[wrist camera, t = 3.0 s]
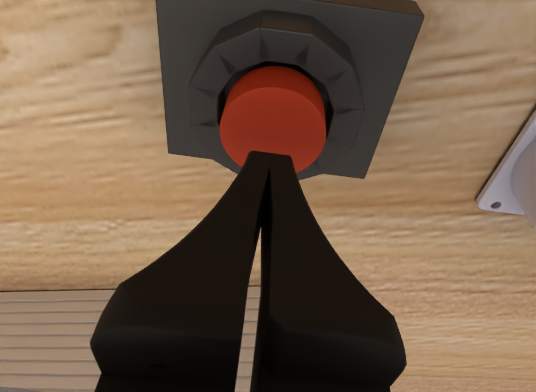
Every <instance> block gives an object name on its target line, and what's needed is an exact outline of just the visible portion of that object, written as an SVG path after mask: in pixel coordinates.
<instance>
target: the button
mask: <svg viewBox="0 0 536 392" xmlns="http://www.w3.org/2000/svg"><path fill="white" fill-rule="evenodd" d="M220 137H221V141H222V144H223V147H224V149H225V150H226V152H227V154H228V155H229V156H230V157H231V159H232V160H233V161H234V162H236V163H237V164H238V165H239V166H241V167H242V166H243V165H244V163H245V161H246V158H247V156H248V153H249V152H251V151H252V150H253V151H261V152H268V153H276V154H284V155H290V156H291V157H292V159H293V164H294V168H295V172H296V173H297V172H299V171H301V170H303V169H305V168H306V167H308V166H309V165H310V164H312V163H313V162H314V161H315V160H316V159H317V157H318V156H319V155H320V153H321V151H322V149H323V147H324V144H325V140H326V122H325V108H324V102H323V98H322V96H321V93H320V91H319V90H318V88H317V87H316V85H315V84H314V83H313V82H312V81H311V80H310V79H309V78H308V77H307V76H305V75H303V74H302V73H300V72H298V71H296V70H294V69H291V68H288V67H283V66H266V67H260V68H257V69H254V70H252V71H250V72H248V73H246V74H245V75H243V76H242V77H241V78H240V79H238V80H237V82H236V83H235V84H234V85H233V87H232V88H231V90H230V92H229V94H228V97H227V101H226V104H225V108H224V111H223V114H222V118H221V122H220Z"/></svg>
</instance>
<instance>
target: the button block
mask: <svg viewBox="0 0 536 392" xmlns="http://www.w3.org/2000/svg"><path fill="white" fill-rule="evenodd" d="M156 11H157V23H158V35H159V47H160V60H161V72H162V84H163V96H164V108H165V120H166V133H167V145H168V153H169V154H176V155H184V156H192V157H199V158H207V159H213V160H215V161H216V162H218V163H220V164H221V165H223V166H225V167H226V168H228V169H230V170H231V171H233V172H235V173H237V174H238V173H239V172H240V170H241V168H242V167H241V166H239V165H238V164H237V163H236V162H234V161H233V160H232V159H231V157H230V156H229V155H228V154H227V152H226V150H225V149H224V147H223V144H222V141H221V137H220V122H221V118H222V114H223V111H224V108H225V104H226V101H227V97H228V94H229V92H230V90H231V88H232V87H233V85H234V84H235V83H236V82H237V80H238V79H240V78H241V77H242V76H243V75H245V74H246V73H248V72H250V71H252V70H254V69H257V68H260V67H266V66H283V67H288V68H291V69H294V70H296V71H298V72H300V73H302V74H303V75H305V76H307V77H308V78H309V79H310V80H311V81H312V82H313V83H314V84H315V85H316V87H317V88H318V90H319V91H320V93H321V96H322V98H323V102H324V108H325V122H326V140H325V144H324V147H323V149H322V151H321V153H320V155H319V156H318V157H317V159H316V160H315V161H314V162H313V163H312V164H310V165H309V166H308V167H306V168H305V169H303V170H301V171H299V172H297V173H296V175H297V178H298V180H302V179H305V178H309V177H312V176H316V175H319V174H330V175H338V176H346V177H353V178H361V179H364V178H365V176H366V173H367V171H368V168H369V165H370V163H371V160H372V157H373V154H374V152H375V149H376V146H377V144H378V141H379V138H380V135H381V133H382V130H383V127H384V125H385V122H386V119H387V117H388V114H389V111H390V108H391V106H392V103H393V100H394V98H395V95H396V92H397V90H398V87H399V84H400V81H401V79H402V76H403V73H404V71H405V68H406V65H407V63H408V60H409V57H410V54H411V52H412V49H413V46H414V44H415V41H416V38H417V35H418V33H419V30H420V27H421V25H422V22H423V19H424V14H423V13H422V11H421V10H420V8H419V7H418V5H417V4H416V2H415V1H408V0H156Z"/></svg>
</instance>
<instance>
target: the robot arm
mask: <svg viewBox="0 0 536 392" xmlns="http://www.w3.org/2000/svg"><path fill="white" fill-rule="evenodd" d="M495 202H497V203H495ZM493 203H494V204H493ZM476 204H477V206H478V208H479V209H482V210H488V211H496V212H503V213H511V214H519V215H526V217H527V219H528V220H529V222H530V224H531V225H532V227H533V229H534V231H535V232H536V110H535V111H534V113H533V114H532V116H531V117H530V119H529V120H528V122H527V123H526V125H525V126H524V128H523V129H522V131H521V132H520V134H519V135H518V137H517V138H516V140H515V141H514V143H513V145H512V146H511V148H510V149H509V151H508V152H507V154H506V155H505V157H504V158H503V160H502V161H501V163H500V164H499V166H498V167H497V169H496V170H495V172H494V173H493V175H492V176H491V178H490V179H489V181H488V182H487V184H486V185H485V187H484V188H483V190H482V191H481V193H480V194H479V196H478V197H477V199H476ZM260 229H261V288H260V301H259V310H258V320H257V329H256V339H255V348H254V357H253V366H252V375H251V384H250V392H390V386H391V385H392V384H393V383H394V381H395V380H396V379H397V378H398V377H399V375H400V374H401V373H402V372H403V371H404V369H405V367H406V365H407V362H406V354H405V349H404V345H403V341H402V338H401V335H400V332H399V329H398V326H397V323H396V321H395V318H394V316H393V315H392V314H391V313H390V312H389V311H388V310H387V309H386V308H384V307H383V306H382V305H381V304H380V303H379V302H378V301H377V300H376V299H375V298H374V297H373V296H372V295H371V294H370V293H369V292H368V291H367V290H366V289H365V287H364V286H363V285H362V284H361V283H360V282H359V281H358V280H357V279H356V277H355V276H354V275H353V274H352V272H351V271H350V270H349V269H348V267H347V266H346V265H345V264H344V262H343V261H342V260H341V259H340V257H339V256H338V254H337V253H336V252H335V250H334V249H333V247H332V246H331V244H330V243H329V241H328V240H327V238H326V236H325V235H324V233H323V232H322V230H321V228H320V226H319V225H318V223H317V221H316V219H315V217H314V215H313V213H312V211H311V209H310V207H309V205H308V203H307V201H306V198H305V196H304V194H303V191H302V189H301V186H300V184H299V181H298V178H297V175H296V172H295V168H294V164H293V159H292V157H291V156H290V155H284V154H276V153H268V152H261V151H253V150H252V151H251V152H249V153H248V156H247V158H246V161H245V163H244V165H243V166H242V168H241V170H240V172H239V173H238V175H237V177H236V178H235V180H234V181H233V183H232V184H231V186H230V187H229V189H228V190H227V191H226V193H225V194H224V195H223V197H222V198H221V199H220V200H219V202H218V203H217V204H216V205H215V207H214V208H213V209H212V210H211V211H210V212H209V214H208V215H207V216H206V217H205V218H204V219H203V220H202V221H201V222H200V223H199V224H198V225H197V226H196V227H195V228H194V229H193V230H192V231H191V232H190V233H189V234H188V235H186V236H185V237H184V238H183V239H182V240H181V241H180V242H179V243H177V244H176V245H175V246H174V247H173V248H171V249H170V250H169V251H167V252H166V253H165V254H163V255H162V256H161V257H160V258H158V259H157V260H156V261H154V262H153V263H151V264H150V265H149V266H147V267H146V268H144V269H143V270H141V271H139V272H138V273H136V274H135V275H133V276H132V277H130V278H129V279H127V280H125V281H124V282H122V283H121V284H120V285H119V286H118V288H117V289H116V290H115V292H114V293H113V295H112V296H111V298H110V300H109V301H108V303H107V305H106V307H105V308H104V310H103V312H102V314H101V316H100V318H99V320H98V323H97V325H96V328H95V330H94V333H93V335H92V338H91V340H90V347H91V351H92V353H93V355H94V358H95V360H96V362H97V364H98V367H99V369H100V371H101V375H100V378H99V380H98V383H97V386H96V388H95V391H94V392H235V386H236V379H237V372H238V364H239V357H240V349H241V342H242V334H243V326H244V318H245V309H246V301H247V292H248V284H249V278H250V274H251V269H252V265H253V260H254V256H255V251H256V247H257V242H258V238H259V233H260ZM0 392H44V391H35V390H26V389H17V388H8V387H0Z"/></svg>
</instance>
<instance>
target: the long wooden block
mask: <svg viewBox="0 0 536 392" xmlns="http://www.w3.org/2000/svg"><path fill="white" fill-rule="evenodd" d="M260 288H261V286H260V287H248V292H247V301H246V309H245V318H244V326H243V334H242V342H241V349H240V357H239V364H238V372H237V379H236V386H235V392H250V384H251V375H252V366H253V357H254V348H255V339H256V329H257V320H258V310H259V301H260ZM114 292H115V290H79V291H34V292H0V387H8V388H17V389H26V390H35V391H44V392H94V391H95V388H96V386H97V383H98V380H99V378H100V375H101V371H100V369H99V367H98V364H97V362H96V360H95V358H94V355H93V353H92V351H91V347H90V340H91V338H92V335H93V333H94V330H95V328H96V325H97V323H98V320H99V318H100V316H101V314H102V312H103V310H104V308H105V307H106V305H107V303H108V301H109V300H110V298H111V296H112V295H113V293H114Z"/></svg>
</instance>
